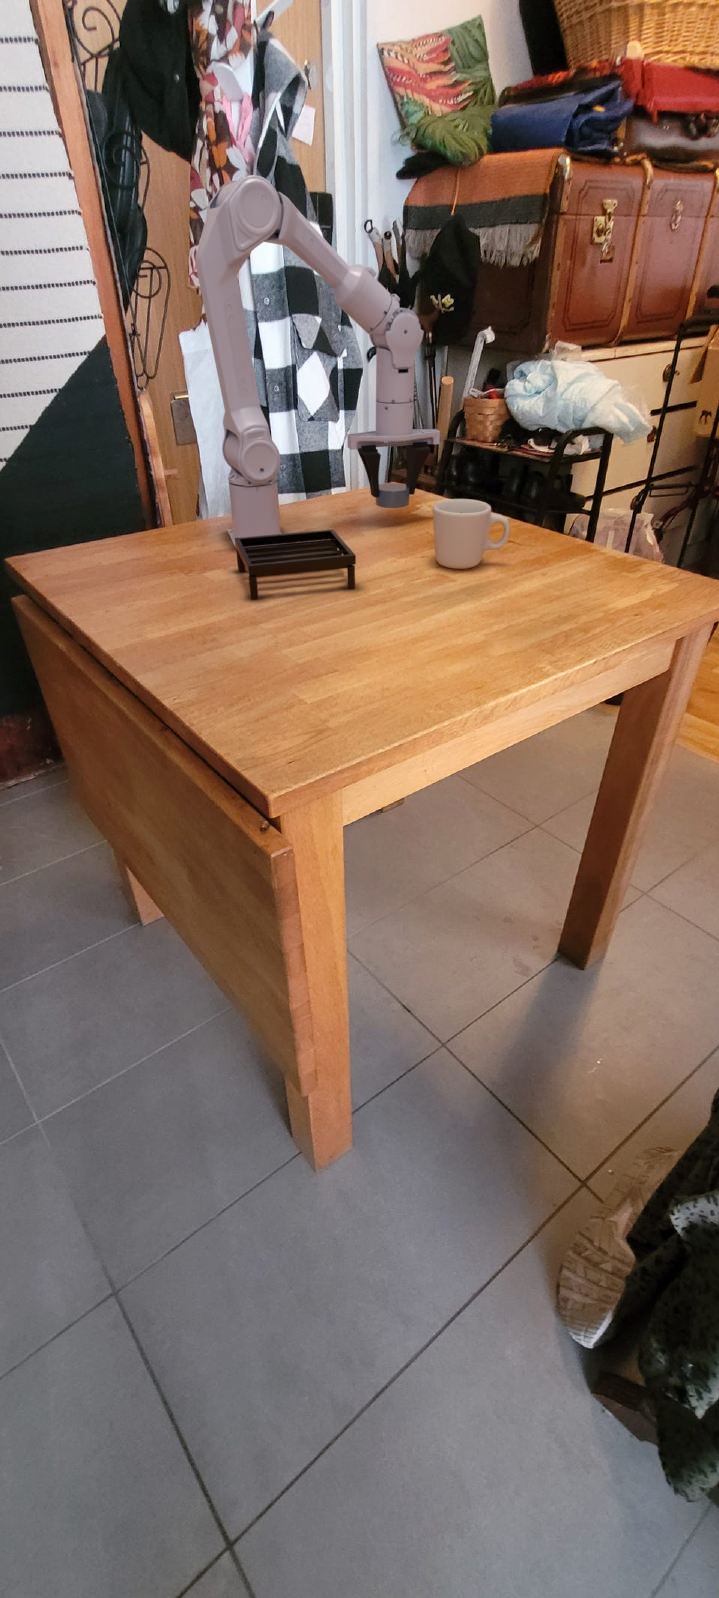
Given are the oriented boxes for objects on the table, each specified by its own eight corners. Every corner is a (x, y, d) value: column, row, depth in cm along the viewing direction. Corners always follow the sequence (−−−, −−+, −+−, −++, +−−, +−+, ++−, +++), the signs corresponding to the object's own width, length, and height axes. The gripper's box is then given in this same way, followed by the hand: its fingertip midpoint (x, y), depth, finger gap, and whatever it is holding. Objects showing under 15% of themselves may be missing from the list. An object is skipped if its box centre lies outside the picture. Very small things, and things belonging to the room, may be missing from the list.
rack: (237, 570, 108) (234, 537, 106) (333, 560, 111) (333, 529, 109) (251, 600, 99) (248, 565, 96) (356, 589, 102) (355, 555, 99)
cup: (504, 556, 112) (510, 499, 108) (507, 574, 106) (514, 514, 101) (430, 554, 113) (433, 497, 108) (429, 572, 107) (432, 513, 102)
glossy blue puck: (371, 500, 126) (371, 484, 125) (403, 498, 128) (403, 481, 126) (381, 509, 122) (381, 492, 121) (413, 506, 123) (414, 489, 122)
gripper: (430, 394, 121) (426, 485, 129) (341, 399, 118) (343, 491, 126) (446, 401, 115) (441, 495, 123) (353, 405, 112) (354, 502, 120)
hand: (392, 494), depth 124 cm, fingers closed on glossy blue puck, 5 cm apart
